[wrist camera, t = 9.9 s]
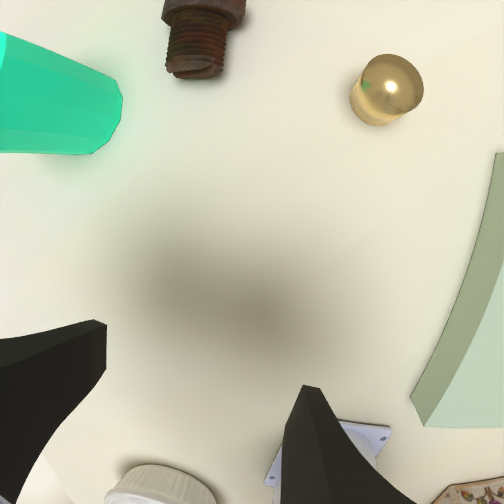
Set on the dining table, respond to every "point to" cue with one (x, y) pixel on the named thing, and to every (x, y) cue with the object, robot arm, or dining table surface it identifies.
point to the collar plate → (472, 335)
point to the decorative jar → (474, 493)
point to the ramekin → (159, 487)
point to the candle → (53, 102)
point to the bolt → (199, 35)
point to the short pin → (386, 90)
